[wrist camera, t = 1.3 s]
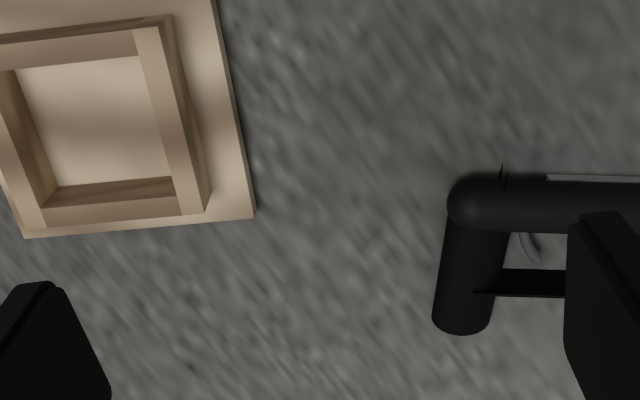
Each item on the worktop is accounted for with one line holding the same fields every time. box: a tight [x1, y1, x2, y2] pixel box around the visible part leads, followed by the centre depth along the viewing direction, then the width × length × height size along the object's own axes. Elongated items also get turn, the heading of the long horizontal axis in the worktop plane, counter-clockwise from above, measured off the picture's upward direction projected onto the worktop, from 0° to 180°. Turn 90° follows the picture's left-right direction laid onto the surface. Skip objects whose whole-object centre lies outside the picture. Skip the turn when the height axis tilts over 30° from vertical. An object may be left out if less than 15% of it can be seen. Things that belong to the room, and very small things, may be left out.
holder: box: [0, 0, 257, 239], centre depth 32 cm, size 14×14×4 cm
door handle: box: [432, 164, 640, 336], centre depth 37 cm, size 3×20×16 cm
